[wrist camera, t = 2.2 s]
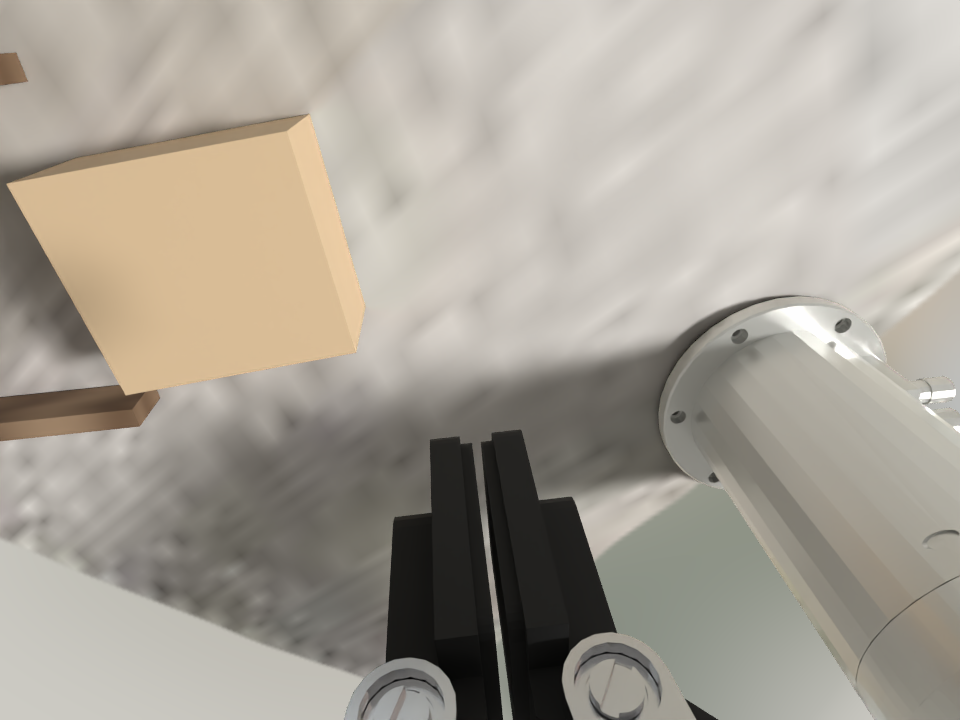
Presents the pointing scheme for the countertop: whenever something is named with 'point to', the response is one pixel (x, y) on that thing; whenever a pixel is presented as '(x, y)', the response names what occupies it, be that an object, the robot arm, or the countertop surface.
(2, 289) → the countertop surface
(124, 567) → the countertop surface
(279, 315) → the kraft carton
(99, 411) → the stand
